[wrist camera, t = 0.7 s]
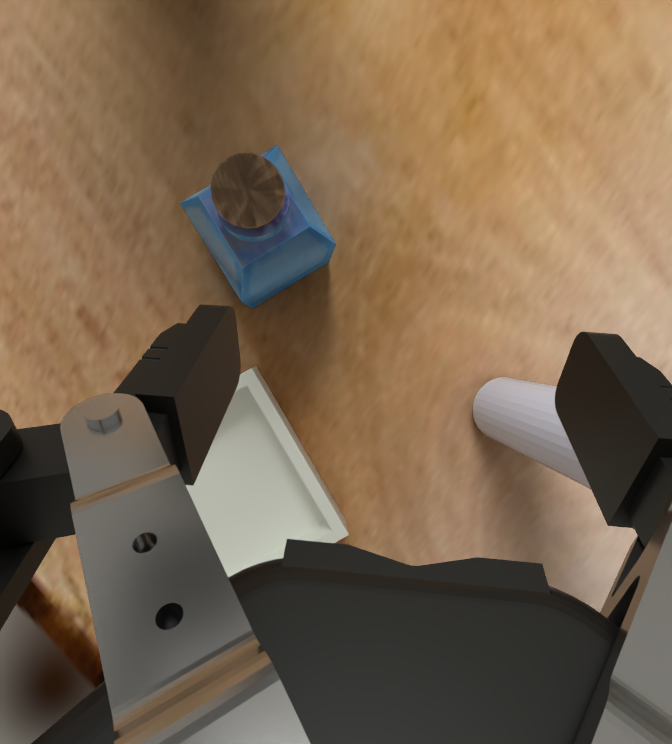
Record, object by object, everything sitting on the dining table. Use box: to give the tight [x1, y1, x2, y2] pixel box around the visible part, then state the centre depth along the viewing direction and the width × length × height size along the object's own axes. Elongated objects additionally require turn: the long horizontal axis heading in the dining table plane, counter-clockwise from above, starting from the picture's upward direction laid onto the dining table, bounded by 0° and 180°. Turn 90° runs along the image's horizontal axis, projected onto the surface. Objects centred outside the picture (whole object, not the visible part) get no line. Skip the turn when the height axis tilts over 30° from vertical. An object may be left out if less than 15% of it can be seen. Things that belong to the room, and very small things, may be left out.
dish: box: [186, 365, 349, 577], centre depth 31 cm, size 13×13×3 cm
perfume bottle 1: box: [180, 145, 336, 309], centre depth 26 cm, size 6×6×12 cm
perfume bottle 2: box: [473, 377, 634, 529], centre depth 24 cm, size 6×6×20 cm
